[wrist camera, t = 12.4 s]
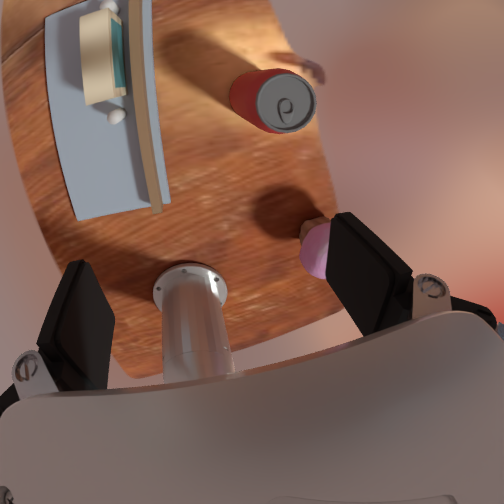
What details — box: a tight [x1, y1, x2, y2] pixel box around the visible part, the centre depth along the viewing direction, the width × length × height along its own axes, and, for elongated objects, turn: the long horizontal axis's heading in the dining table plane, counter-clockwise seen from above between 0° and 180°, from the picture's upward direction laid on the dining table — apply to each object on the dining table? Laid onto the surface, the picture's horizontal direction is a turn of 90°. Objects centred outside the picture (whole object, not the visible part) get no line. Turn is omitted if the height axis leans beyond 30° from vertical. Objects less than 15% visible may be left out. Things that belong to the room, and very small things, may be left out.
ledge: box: [45, 0, 171, 221], centre depth 24 cm, size 30×14×4 cm, turn 2°
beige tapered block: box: [80, 8, 128, 106], centre depth 20 cm, size 10×3×7 cm, turn 2°
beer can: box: [229, 68, 317, 134], centre depth 26 cm, size 7×7×12 cm
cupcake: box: [299, 217, 331, 279], centre depth 40 cm, size 9×9×10 cm
